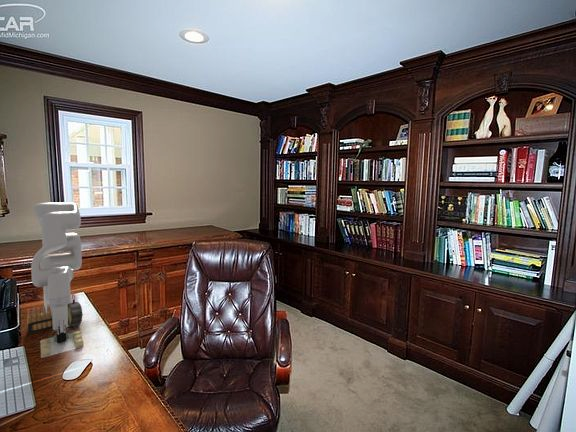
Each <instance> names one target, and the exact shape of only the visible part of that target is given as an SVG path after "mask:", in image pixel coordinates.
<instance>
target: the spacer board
mask: <svg viewBox="0 0 576 432" xmlns="http://www.w3.org/2000/svg"><path fill="white" fill-rule="evenodd" d="M81 333H82V331H81V330H74V331H73V332H68V335H69V338H68V339H67V341H65V342H61V343H57V342H55V341H54V336H52V337H48V338H43V339H41V340H40V358H41V359H42V358H46V357H50V356H54V355H58V354H62V353H65V352H69V351H73V350H76V349H81V348H83V347H85V345H84V338H83V335H82V334H81Z"/></svg>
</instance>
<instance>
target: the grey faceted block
mask: <svg viewBox="0 0 576 432" xmlns="http://www.w3.org/2000/svg"><path fill="white" fill-rule="evenodd" d="M68 333H69V332H68V331H66V339H68V338H69V335H68ZM53 337H54V341H55V342H57V333H55V334H54V335H53Z"/></svg>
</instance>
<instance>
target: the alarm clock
mask: <svg viewBox="0 0 576 432" xmlns="http://www.w3.org/2000/svg"><path fill="white" fill-rule="evenodd" d="M71 296H72V298H71V299H72V302H70V303H69V304H68V328H71V327H73V330H74V331H77V330H76V326H79V325H80V326H81V323H82V321H83V315H84V314H83V309H82V305H81V303H80V302H78V301H76V296H75V294H74V293H72V295H71Z"/></svg>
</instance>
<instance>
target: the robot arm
mask: <svg viewBox="0 0 576 432" xmlns="http://www.w3.org/2000/svg"><path fill="white" fill-rule="evenodd" d="M32 210H33V211H32V212H33V213H34V217H35V218H36V220H37V221H38V223H39V224H40V229H41V242H42V247H41V248H40V249H39V250H38V251H37V252H36V253H35V255H33V257H32V260H31V263H30V265H31V266H30V269H31V270H30V271H31V282H32V284H33V286H34V287H37V288H38V287H39V288H42V287H43V305H44V306H45V310H46V317H47V306H48V304H49V306H50V310H51V317H52V326H53V328H52V330H53V331H56V334H57V343H61V342H65V341H67V339H66V332H67V331H66V328H69V326H68V304H69V303H72V300H71V299H72V298H71V296H72V295H71V281H72V280H73V279H74V271H77V270H80V269H81V268H82V264H83V259H82V258H83V256H82V255H83V254H82V253H83V252H82V240H81V236H80V235H79V233H76V232H67V230H76V229H79V228H80V227H81V224H82V218H81V213H80V210H79V207H78V204H76V203H75V202H40V203H36V204H34V205H33V207H32ZM62 252H63V253H62ZM64 252H65V253H64ZM66 252H67V253H66ZM52 253H54V254H52ZM55 253H56V254H55ZM41 315H42V312H41Z"/></svg>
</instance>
